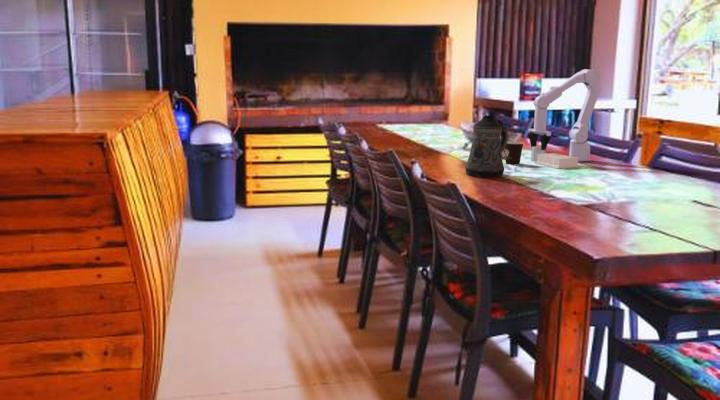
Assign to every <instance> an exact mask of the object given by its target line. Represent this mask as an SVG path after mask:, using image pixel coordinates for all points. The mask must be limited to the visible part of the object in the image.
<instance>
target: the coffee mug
mask: <svg viewBox="0 0 720 400" xmlns="http://www.w3.org/2000/svg"><path fill="white" fill-rule="evenodd" d="M523 146H524V143H523V142H521V141H507V144H506V146H505V150H504V153H505V157H504V158H505V164H506V165H509V164H511V165H512V164H513V165H514V164H519V165H520V163H521V158H522V151H523ZM511 165H510V166H511ZM513 165H512V166H513ZM514 166H515V165H514Z"/></svg>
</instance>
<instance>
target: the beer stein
mask: <svg viewBox="0 0 720 400" xmlns="http://www.w3.org/2000/svg"><path fill="white" fill-rule="evenodd" d="M472 129H473V130H472V131H473V137H472V142H471V147H470V152H469V156H468V157H467V162H466V164H465V166H464V167H465V174H466V176H468V177H472V178H482V179H492V178H494V179H495V178H496V179H497V178H501V177H503V176H504V172H505V166H504V162H503V158H502V152H503V150H504V148H505V146H506V144H507V142H509V141H508V140H509V132H508V129H507V127H506V126H505V125H504V122H503V121H502V120H500V119H498V118H495V116H494V115H484V116H483V117H482V118H481V119H480V120H479V121H477V123H475V124H474V125H473V126H472ZM500 136H501V139H500Z"/></svg>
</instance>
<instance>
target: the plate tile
mask: <svg viewBox="0 0 720 400" xmlns="http://www.w3.org/2000/svg"><path fill="white" fill-rule="evenodd" d="M538 154H546V150H541V145H538V146H537V145H536V146H535V147H532V148H531V154H530V155H531V156H530V162H535V161H537V155H538Z"/></svg>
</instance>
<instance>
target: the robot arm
mask: <svg viewBox="0 0 720 400" xmlns="http://www.w3.org/2000/svg"><path fill="white" fill-rule="evenodd" d="M600 78H601V77H600V74H599V73H598V72H597V70H596V69H587V68H584V69H581V70H580V71H578V72H576V73H575V74H573V75H572V76H570V77H569V78H568V79H567V80H566V81H564V82H563V83H561V84H560V85H559V86H556V85H554V86H550V87H549V89H548V90H547V91H546V92H542V93H541V95H537V97H535V99H534V101H533V105H534V106H535V108H534V118H533V119H534V121H533V128H528V130H527V131H528V133H527V137H528V139H529V143H530V148H531V149H532V147H535V146H537V141H538V137H539V138H540V144H541V145H540V146H541V150H545V151H546V149H547V147H548V144H549V142H550V140H551V139H552V138H553V137H552V131H549V130H547V118H548V107H550V104H552V103H553V102H555V101H556V100H558V99H559V98H560V97H562V95H563V92H565V91H567V90H569V89H570V88H572V87H573V86H575V85H577V84H581V83H582V84H583V85H585V86H584V87H586V89H587V93H586V96H585V99H584V102H583V104H582V107H581V109H580V112H579V115H578V117H577V121H575V123H574V124H573V126H572V128H571V129H570V130H569V132H568V137H569V138H570V140H569V141H570V142H569V153H568V156H573V157H578V163H579V162H587V161H588V162H590V161H591V159H590V157H591V145H590V143H589V142H587V140H588V138H589V130H590V128H589V122H590V119H591V117H592V114H593V111H594V109H595V106H596V104H597V101H598V98H599V95H600V92H601V81H600Z"/></svg>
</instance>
